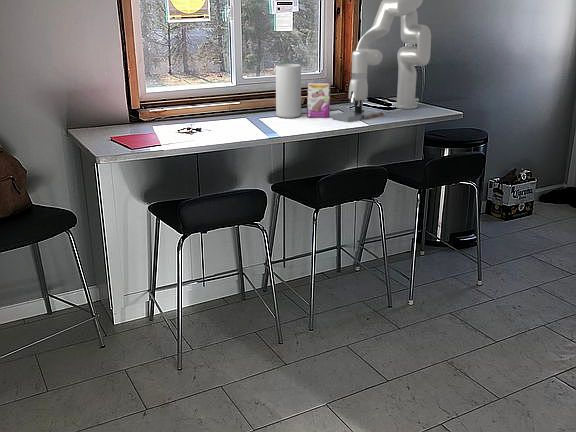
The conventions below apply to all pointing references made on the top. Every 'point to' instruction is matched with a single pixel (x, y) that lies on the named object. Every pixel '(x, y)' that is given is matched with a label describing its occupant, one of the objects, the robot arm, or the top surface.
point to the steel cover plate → (348, 116)
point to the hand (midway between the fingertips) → (358, 113)
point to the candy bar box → (318, 100)
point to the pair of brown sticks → (372, 115)
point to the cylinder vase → (288, 90)
